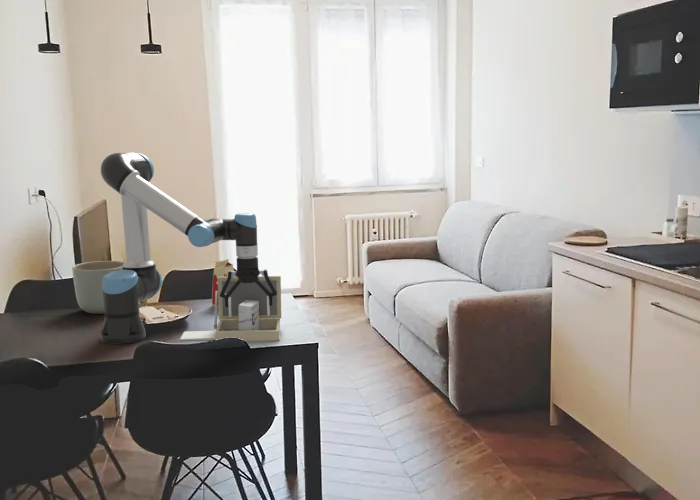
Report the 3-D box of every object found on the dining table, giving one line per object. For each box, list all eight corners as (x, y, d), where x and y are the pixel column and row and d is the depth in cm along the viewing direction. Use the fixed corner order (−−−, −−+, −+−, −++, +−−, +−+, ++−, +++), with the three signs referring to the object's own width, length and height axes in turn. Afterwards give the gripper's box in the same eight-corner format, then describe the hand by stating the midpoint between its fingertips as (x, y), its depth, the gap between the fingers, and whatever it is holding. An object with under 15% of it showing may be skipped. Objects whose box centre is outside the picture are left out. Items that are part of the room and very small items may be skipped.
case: (211, 341, 232) (209, 286, 229) (217, 328, 249) (215, 276, 246) (280, 340, 234) (279, 285, 231) (281, 326, 251) (280, 275, 248)
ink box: (246, 330, 246) (245, 299, 244) (259, 331, 245) (259, 300, 243) (237, 337, 238) (237, 305, 236) (251, 338, 237) (251, 305, 235)
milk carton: (240, 304, 286) (239, 258, 283) (225, 308, 278) (224, 261, 275) (224, 301, 291) (223, 256, 287) (209, 305, 283) (207, 259, 280)
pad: (180, 340, 234) (180, 338, 234) (184, 333, 243) (184, 331, 243) (217, 339, 235) (217, 337, 235) (220, 332, 244) (220, 330, 244)
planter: (98, 320, 260) (95, 272, 257) (64, 312, 271) (61, 266, 268) (140, 308, 278) (137, 263, 275) (107, 302, 289) (104, 259, 285)
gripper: (210, 259, 232) (213, 319, 235) (282, 257, 234) (284, 316, 237) (212, 256, 239) (215, 313, 243) (282, 254, 241) (284, 311, 245)
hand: (249, 315), depth 240 cm, fingers open, 13 cm apart
